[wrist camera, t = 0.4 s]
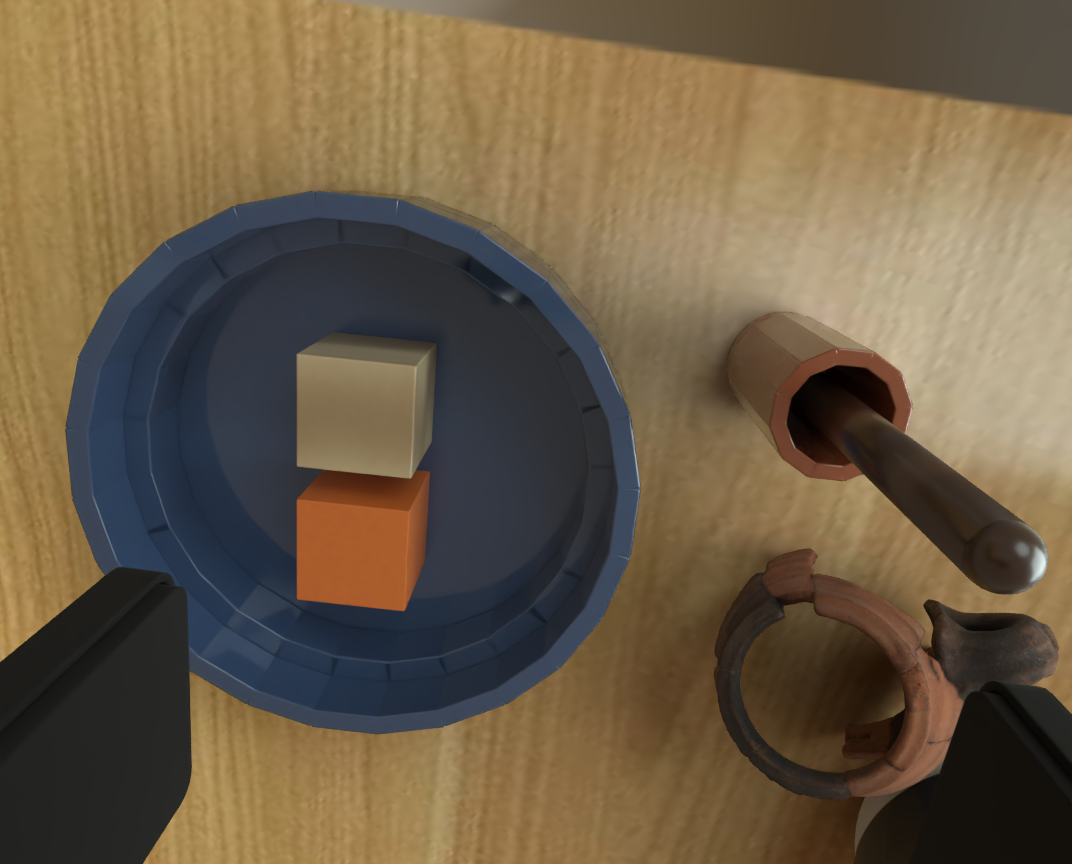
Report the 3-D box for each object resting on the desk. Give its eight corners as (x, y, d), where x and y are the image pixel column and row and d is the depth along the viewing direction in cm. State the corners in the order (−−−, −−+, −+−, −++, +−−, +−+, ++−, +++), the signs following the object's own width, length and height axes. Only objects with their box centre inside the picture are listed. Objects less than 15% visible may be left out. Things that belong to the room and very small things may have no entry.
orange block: (331, 460, 31) (296, 499, 27) (430, 471, 30) (409, 511, 27) (329, 550, 32) (296, 600, 28) (425, 560, 32) (404, 611, 28)
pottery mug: (795, 767, 35) (754, 855, 28) (712, 572, 37) (654, 607, 30) (1088, 701, 30) (1131, 789, 23) (975, 477, 32) (981, 492, 24)
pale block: (332, 331, 29) (295, 353, 25) (437, 342, 29) (416, 366, 25) (331, 432, 30) (296, 467, 26) (431, 442, 30) (411, 479, 26)
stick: (768, 347, 28) (994, 533, 13) (806, 351, 28) (1076, 541, 13) (761, 384, 29) (972, 604, 14) (798, 388, 29) (1051, 613, 13)
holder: (736, 306, 28) (785, 342, 22) (844, 317, 28) (926, 357, 22) (718, 409, 30) (760, 473, 23) (821, 419, 30) (893, 487, 23)
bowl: (128, 167, 28) (37, 163, 23) (661, 220, 28) (679, 226, 23) (159, 630, 34) (91, 702, 29) (597, 679, 34) (601, 760, 29)
